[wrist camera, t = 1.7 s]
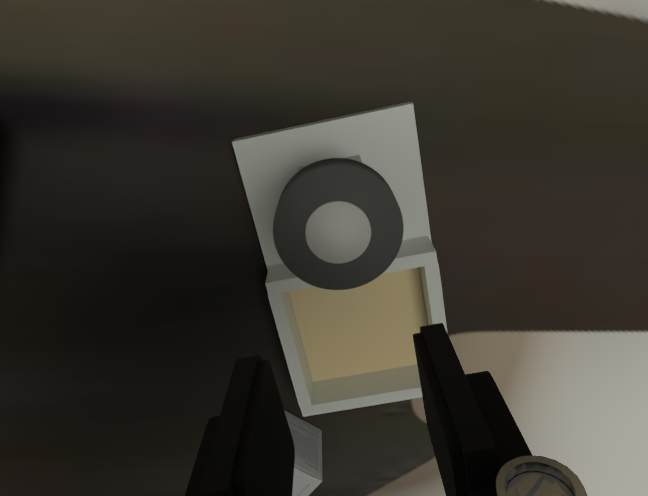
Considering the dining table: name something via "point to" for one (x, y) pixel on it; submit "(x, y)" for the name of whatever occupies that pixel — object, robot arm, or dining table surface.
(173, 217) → the dining table surface
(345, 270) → the wheel
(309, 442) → the small box
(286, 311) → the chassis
